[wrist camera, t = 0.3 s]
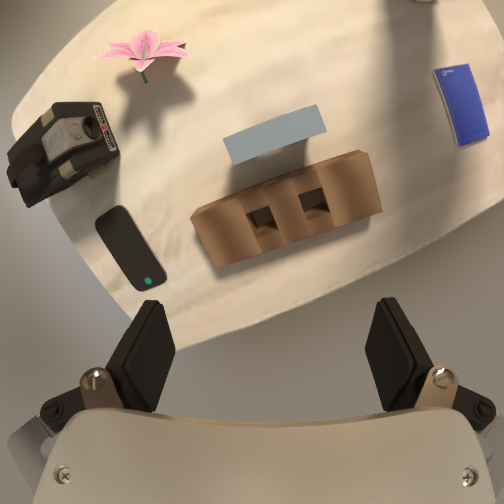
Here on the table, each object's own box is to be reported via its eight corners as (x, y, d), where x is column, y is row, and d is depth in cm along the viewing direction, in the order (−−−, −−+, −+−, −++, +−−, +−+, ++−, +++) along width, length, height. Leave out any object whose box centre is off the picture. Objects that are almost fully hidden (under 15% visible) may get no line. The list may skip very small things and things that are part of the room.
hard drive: (435, 69, 26) (460, 146, 30) (468, 63, 24) (490, 135, 28) (429, 70, 27) (454, 145, 32) (463, 63, 25) (485, 133, 30)
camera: (129, 158, 36) (65, 183, 23) (70, 194, 39) (10, 229, 25) (105, 96, 32) (36, 97, 18) (48, 140, 34) (-16, 160, 21)
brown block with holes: (358, 149, 34) (367, 153, 30) (372, 202, 37) (382, 211, 33) (197, 208, 39) (189, 218, 35) (220, 255, 42) (215, 268, 39)
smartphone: (137, 293, 46) (91, 222, 40) (139, 290, 47) (93, 220, 41) (169, 280, 44) (121, 202, 38) (171, 277, 45) (124, 200, 39)
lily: (210, 77, 31) (206, 29, 22) (136, 125, 31) (110, 85, 21) (168, 38, 31) (157, -5, 22) (103, 79, 30) (78, 42, 21)
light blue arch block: (305, 108, 32) (316, 104, 24) (313, 129, 33) (327, 131, 25) (233, 134, 34) (222, 139, 26) (242, 155, 35) (234, 165, 27)
